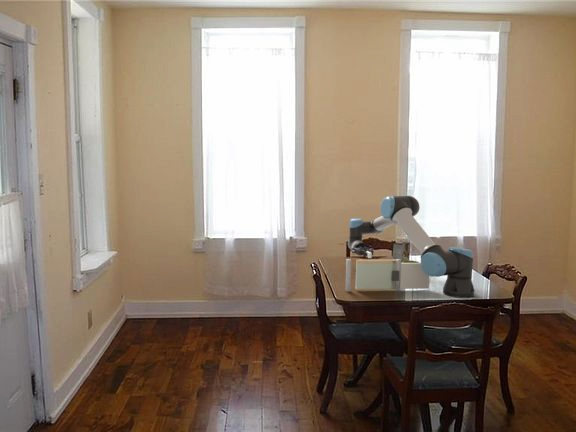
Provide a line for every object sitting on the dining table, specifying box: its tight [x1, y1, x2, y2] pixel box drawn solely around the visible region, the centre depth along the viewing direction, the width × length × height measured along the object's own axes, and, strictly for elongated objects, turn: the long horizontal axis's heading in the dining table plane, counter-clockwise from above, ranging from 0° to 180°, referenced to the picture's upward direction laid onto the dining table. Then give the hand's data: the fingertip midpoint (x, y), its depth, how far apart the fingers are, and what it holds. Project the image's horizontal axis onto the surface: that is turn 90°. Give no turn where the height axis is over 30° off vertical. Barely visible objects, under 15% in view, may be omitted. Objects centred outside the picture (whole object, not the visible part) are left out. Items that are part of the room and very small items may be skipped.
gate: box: [354, 259, 396, 290], centre depth 288 cm, size 20×2×15 cm, turn 97°
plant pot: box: [402, 259, 420, 263], centre depth 319 cm, size 9×9×9 cm
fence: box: [344, 258, 430, 292], centre depth 289 cm, size 3×43×16 cm, turn 97°
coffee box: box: [392, 240, 411, 263], centre depth 338 cm, size 9×6×16 cm
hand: (370, 255), depth 307 cm, fingers closed
